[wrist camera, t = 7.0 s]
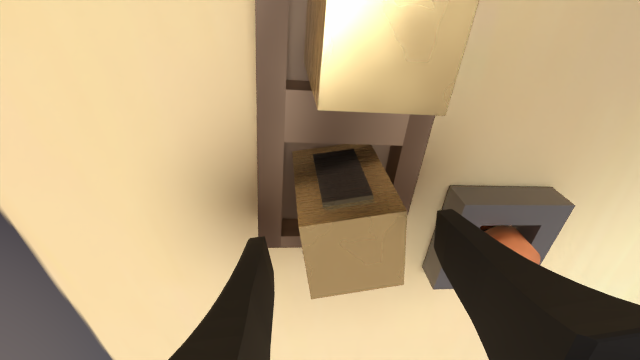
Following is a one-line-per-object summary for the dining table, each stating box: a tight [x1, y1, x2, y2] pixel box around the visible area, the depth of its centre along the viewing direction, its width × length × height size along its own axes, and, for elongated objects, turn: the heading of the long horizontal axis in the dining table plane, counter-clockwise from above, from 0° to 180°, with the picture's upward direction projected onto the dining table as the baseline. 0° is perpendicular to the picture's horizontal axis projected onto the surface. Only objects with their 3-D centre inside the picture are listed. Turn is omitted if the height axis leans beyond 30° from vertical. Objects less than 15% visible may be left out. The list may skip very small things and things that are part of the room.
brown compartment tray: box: [255, 0, 435, 248], centre depth 16 cm, size 8×15×2 cm, turn 175°
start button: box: [485, 225, 540, 265], centre depth 21 cm, size 3×3×2 cm
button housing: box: [422, 186, 575, 289], centre depth 22 cm, size 7×7×2 cm
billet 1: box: [304, 0, 479, 116], centre depth 12 cm, size 4×4×6 cm
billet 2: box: [292, 144, 407, 299], centre depth 16 cm, size 4×4×6 cm
